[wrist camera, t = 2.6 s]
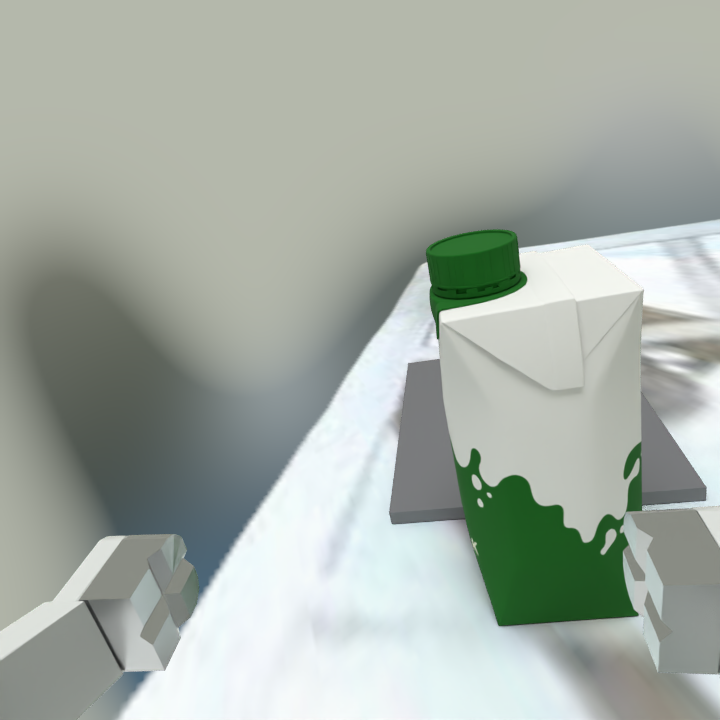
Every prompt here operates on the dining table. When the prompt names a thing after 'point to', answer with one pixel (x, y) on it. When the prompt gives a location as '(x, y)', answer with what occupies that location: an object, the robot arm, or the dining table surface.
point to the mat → (437, 468)
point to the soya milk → (541, 419)
